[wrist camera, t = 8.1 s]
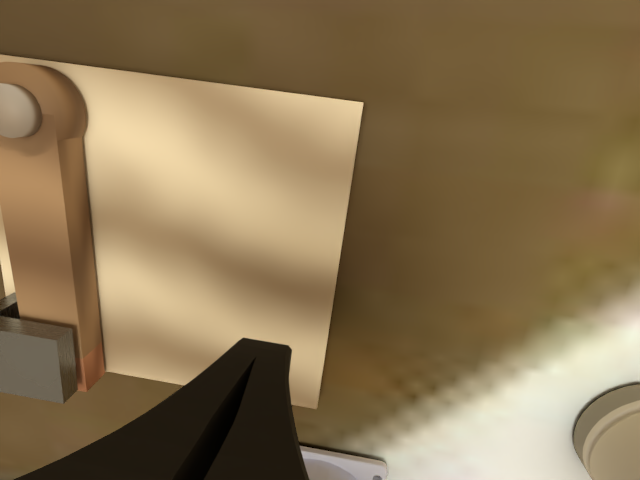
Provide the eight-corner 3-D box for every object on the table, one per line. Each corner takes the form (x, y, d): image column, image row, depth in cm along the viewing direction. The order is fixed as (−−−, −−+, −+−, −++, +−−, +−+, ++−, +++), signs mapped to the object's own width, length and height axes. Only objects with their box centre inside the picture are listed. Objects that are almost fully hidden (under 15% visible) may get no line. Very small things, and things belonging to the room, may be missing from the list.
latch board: (318, 396, 22) (316, 408, 21) (29, 344, 23) (15, 354, 22) (363, 102, 17) (363, 102, 16) (-12, 53, 18) (-33, 50, 17)
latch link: (0, 60, 17) (-48, 55, 15) (81, 69, 17) (43, 65, 15) (47, 363, 22) (16, 389, 20) (110, 373, 22) (84, 401, 20)
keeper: (103, 363, 22) (63, 403, 19) (22, 348, 22) (-30, 386, 19) (100, 306, 21) (56, 340, 18) (14, 292, 21) (-43, 323, 18)
